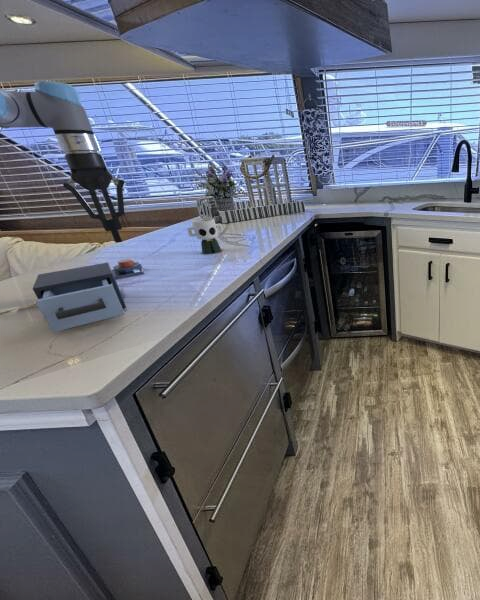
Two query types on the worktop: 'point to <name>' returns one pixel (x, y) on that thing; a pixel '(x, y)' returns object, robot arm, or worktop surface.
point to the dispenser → (76, 279)
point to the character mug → (206, 234)
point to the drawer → (79, 304)
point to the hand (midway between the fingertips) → (118, 241)
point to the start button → (126, 263)
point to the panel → (127, 271)
